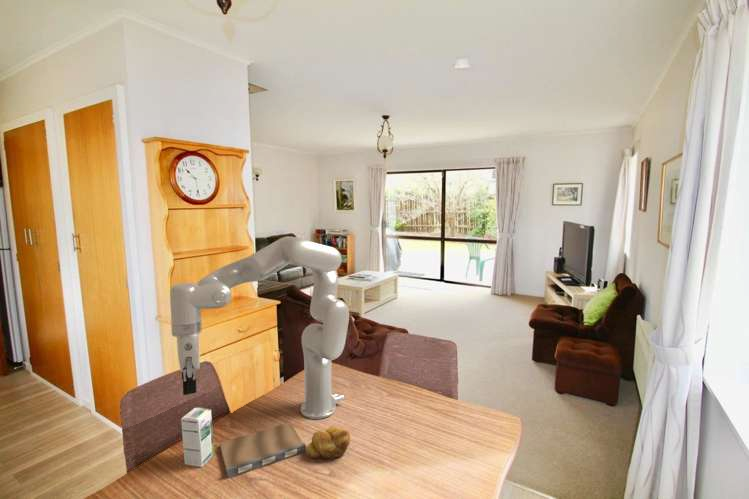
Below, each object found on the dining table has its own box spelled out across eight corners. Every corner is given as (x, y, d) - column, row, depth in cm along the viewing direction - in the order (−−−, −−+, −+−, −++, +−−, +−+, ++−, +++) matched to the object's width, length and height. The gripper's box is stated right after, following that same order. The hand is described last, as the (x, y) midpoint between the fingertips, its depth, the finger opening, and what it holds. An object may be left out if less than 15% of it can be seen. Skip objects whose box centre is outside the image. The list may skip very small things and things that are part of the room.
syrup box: (202, 467, 106) (199, 419, 104) (183, 464, 107) (180, 417, 105) (214, 454, 112) (212, 408, 110) (196, 451, 113) (194, 406, 111)
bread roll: (306, 466, 107) (306, 440, 106) (305, 444, 116) (304, 420, 115) (351, 459, 110) (351, 434, 109) (346, 439, 119) (346, 415, 118)
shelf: (290, 426, 126) (290, 419, 125) (305, 452, 113) (305, 445, 112) (219, 447, 115) (219, 439, 115) (228, 478, 102) (227, 470, 101)
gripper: (204, 335, 99) (206, 396, 101) (199, 317, 115) (201, 371, 116) (171, 339, 96) (174, 403, 98) (171, 320, 111) (173, 376, 113)
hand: (189, 385), depth 107 cm, fingers open, 9 cm apart
